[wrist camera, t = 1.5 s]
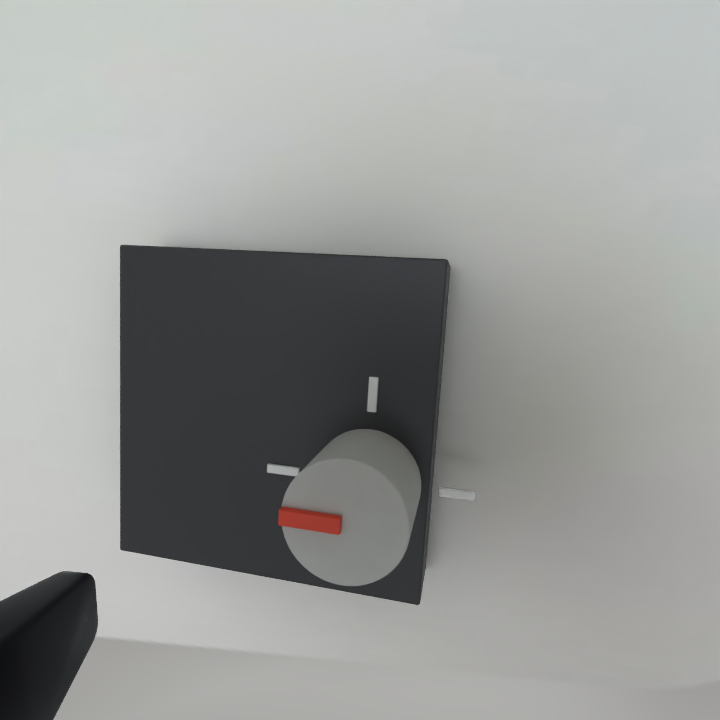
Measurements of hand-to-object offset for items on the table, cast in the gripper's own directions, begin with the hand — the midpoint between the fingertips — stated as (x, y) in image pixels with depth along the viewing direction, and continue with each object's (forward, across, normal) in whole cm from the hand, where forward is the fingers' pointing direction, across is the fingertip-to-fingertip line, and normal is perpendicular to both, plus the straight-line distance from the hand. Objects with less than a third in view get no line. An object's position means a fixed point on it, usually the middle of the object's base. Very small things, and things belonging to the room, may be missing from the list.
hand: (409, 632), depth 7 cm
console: (+17, +5, +3) cm, 18 cm away
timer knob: (+13, +1, +5) cm, 13 cm away
